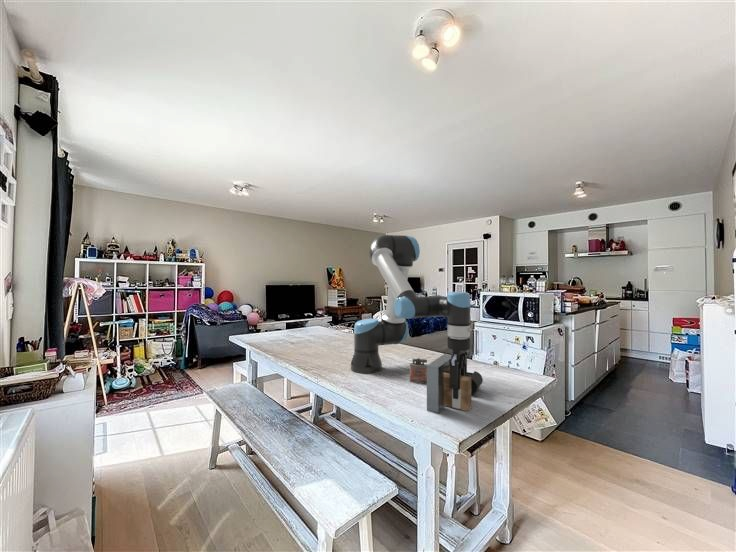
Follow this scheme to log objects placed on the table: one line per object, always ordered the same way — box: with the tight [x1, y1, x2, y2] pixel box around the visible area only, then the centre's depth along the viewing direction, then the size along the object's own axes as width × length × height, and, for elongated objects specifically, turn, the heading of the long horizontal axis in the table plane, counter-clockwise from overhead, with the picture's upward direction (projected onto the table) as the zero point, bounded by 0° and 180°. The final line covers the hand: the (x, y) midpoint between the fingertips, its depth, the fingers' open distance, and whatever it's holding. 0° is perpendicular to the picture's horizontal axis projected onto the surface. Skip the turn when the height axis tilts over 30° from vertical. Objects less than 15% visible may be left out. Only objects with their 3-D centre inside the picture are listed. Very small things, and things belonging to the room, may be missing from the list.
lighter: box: [409, 357, 428, 385], centre depth 131 cm, size 8×3×10 cm, turn 68°
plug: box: [444, 373, 472, 412], centre depth 108 cm, size 13×4×12 cm, turn 57°
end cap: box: [467, 370, 484, 396], centre depth 120 cm, size 10×7×7 cm
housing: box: [426, 353, 452, 414], centre depth 110 cm, size 4×18×15 cm, turn 148°
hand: (458, 404), depth 107 cm, fingers closed on plug, 4 cm apart
